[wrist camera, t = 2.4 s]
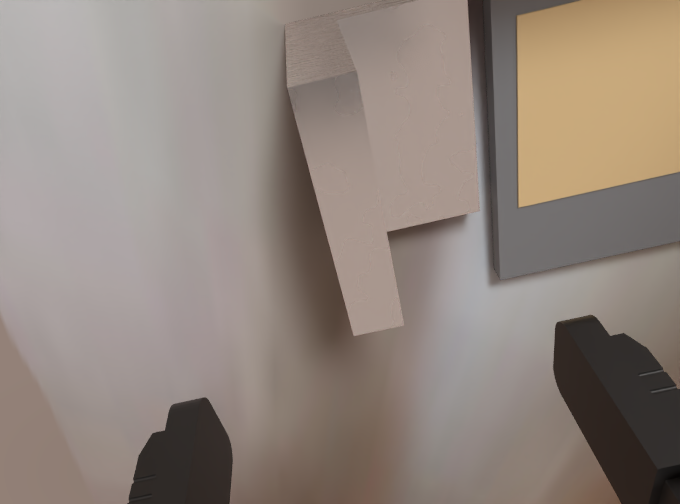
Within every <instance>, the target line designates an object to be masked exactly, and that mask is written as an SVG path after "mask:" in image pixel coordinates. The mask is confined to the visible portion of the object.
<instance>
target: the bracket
mask: <svg viewBox="0 0 680 504" xmlns="http://www.w3.org/2000/svg"><path fill="white" fill-rule="evenodd" d="M285 40H286V70H287V89H288V93H289V97H290V100H291V104H292V108H293V112H294V115H295V119H296V123H297V127H298V130H299V134H300V138H301V141H302V145H303V149H304V153H305V156H306V160H307V164H308V167H309V171H310V175H311V179H312V182H313V186H314V190H315V194H316V197H317V201H318V205H319V208H320V212H321V216H322V220H323V223H324V227H325V231H326V234H327V238H328V242H329V246H330V249H331V253H332V257H333V261H334V264H335V268H336V272H337V275H338V279H339V283H340V287H341V290H342V294H343V298H344V301H345V305H346V309H347V313H348V316H349V320H350V324H351V328H352V331H353V335H354V336H357V335H361V334H366V333H370V332H375V331H380V330H384V329H389V328H394V327H398V326H403V325H404V322H403V317H402V311H401V306H400V301H399V295H398V290H397V285H396V279H395V274H394V269H393V263H392V258H391V252H390V247H389V242H388V236H387V232H388V231H393V230H397V229H402V228H406V227H411V226H415V225H420V224H424V223H428V222H433V221H437V220H442V219H446V218H451V217H455V216H460V215H464V214H469V213H473V212H478V211H480V207H479V190H478V173H477V156H476V139H475V121H474V104H473V87H472V70H471V53H470V36H469V18H468V1H467V0H382V1H377V2H373V3H369V4H365V5H361V6H357V7H353V8H349V9H345V10H341V11H336V12H332V13H328V14H324V15H320V16H316V17H312V18H308V19H304V20H300V21H295V22H291V23H287V24H285Z"/></svg>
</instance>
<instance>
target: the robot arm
mask: <svg viewBox="0 0 680 504" xmlns="http://www.w3.org/2000/svg"><path fill="white" fill-rule="evenodd" d="M553 368H554V375H555V380H556V383H557V386H558V389H559V391H560V393H561V395H562V397H563V399H564V401H565V402H566V404H567V406H568V408H569V410H570V411H571V413H572V415H573V417H574V419H575V420H576V422H577V424H578V426H579V428H580V429H581V431H582V433H583V435H584V437H585V438H586V440H587V442H588V444H589V446H590V447H591V449H592V451H593V453H594V455H595V456H596V458H597V460H598V462H599V464H600V465H601V467H602V469H603V471H604V473H605V474H606V476H607V478H608V480H609V482H610V483H611V485H612V487H613V489H614V491H615V493H616V494H617V496H618V498H619V500H620V502H621V503H622V504H680V389H677V387H676V384H675V383H674V382H673V380H672V379H671V378H670V377H669V375H668V374H667V373H666V372H664V371H663V368H662V366H661V365H660V364H659V363H658V361H657V360H656V359H655V358H654V356H653V355H652V354H651V353H650V351H649V350H648V349H647V348H646V347H644V346H643V345H641V344H640V343H638V342H637V341H635V340H634V339H632V338H631V337H629V336H627V335H626V334H624V333H622V334H618V335H613V336H610V335H609V334H608V333H607V331H606V330H605V328H604V327H603V326H602V324H601V323H600V322H599V320H598V319H597V318H596V317H595V316H593V315H588V316H583V317H579V318H574V319H570V320H565V321H560V322H557V324H556V327H555V344H554V364H553ZM232 462H233V459H232V448H231V443H230V440H229V437H228V435H227V433H226V431H225V429H224V427H223V425H222V424H221V422H220V420H219V418H218V416H217V414H216V413H215V411H214V409H213V407H212V405H211V403H210V402H209V400H208V399H207V398H200V399H195V400H190V401H186V402H181V403H177V404H173V405H172V406H171V407H170V410H169V414H168V419H167V423H166V428H165V431H161V432H156V433H153V434H152V435H151V437H150V438H149V440H148V442H147V443H146V445H145V447H144V448H143V450H142V451H141V453H140V455H139V457H138V461H137V466H136V470H135V474H134V478H133V480H134V483H133V484H132V486H131V491H130V495H129V503H127V504H229V502H230V489H231V476H232Z"/></svg>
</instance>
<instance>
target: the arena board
mask: <svg viewBox="0 0 680 504" xmlns="http://www.w3.org/2000/svg"><path fill="white" fill-rule="evenodd" d="M483 18H484V41H485V64H486V88H487V111H488V134H489V158H490V181H491V204H492V228H493V251H494V270H495V271H496V273H497V275H498V277H499V279H500V280H504V279H508V278H513V277H517V276H522V275H526V274H531V273H536V272H540V271H545V270H549V269H554V268H559V267H563V266H568V265H572V264H577V263H582V262H586V261H591V260H595V259H600V258H605V257H609V256H614V255H618V254H623V253H627V252H632V251H637V250H641V249H646V248H650V247H655V246H660V245H664V244H669V243H673V242H678V241H680V0H483Z"/></svg>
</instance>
